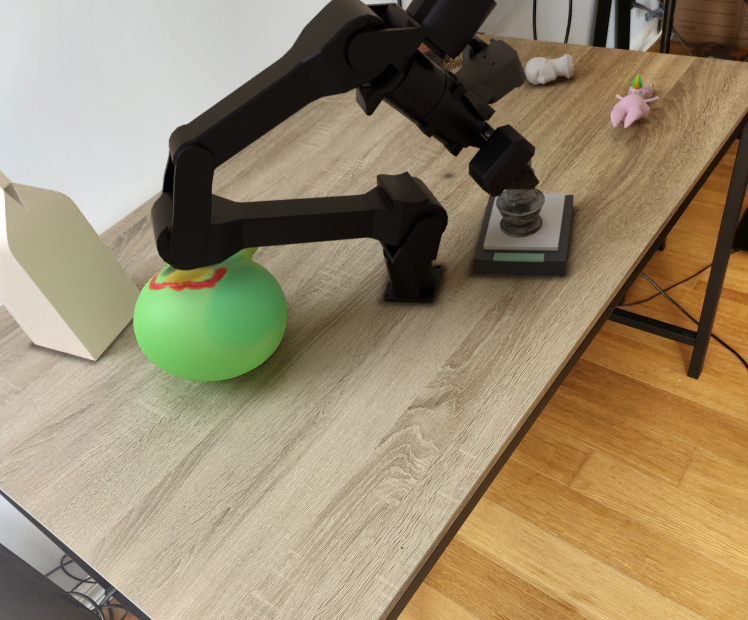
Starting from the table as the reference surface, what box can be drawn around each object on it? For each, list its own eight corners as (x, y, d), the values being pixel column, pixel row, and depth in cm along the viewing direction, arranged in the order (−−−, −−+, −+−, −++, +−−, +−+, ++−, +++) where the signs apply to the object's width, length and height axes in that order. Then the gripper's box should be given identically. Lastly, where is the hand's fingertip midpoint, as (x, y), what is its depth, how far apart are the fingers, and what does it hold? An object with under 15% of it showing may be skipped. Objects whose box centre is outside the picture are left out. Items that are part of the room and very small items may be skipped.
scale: (564, 276, 79) (565, 257, 77) (474, 274, 82) (472, 255, 80) (573, 209, 86) (573, 190, 84) (490, 209, 90) (489, 191, 88)
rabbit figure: (621, 100, 103) (596, 137, 94) (626, 60, 99) (600, 95, 90) (663, 102, 100) (641, 141, 91) (670, 61, 96) (648, 97, 87)
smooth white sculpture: (523, 93, 110) (529, 70, 111) (571, 92, 107) (577, 68, 108) (519, 73, 106) (526, 49, 108) (569, 72, 103) (576, 47, 104)
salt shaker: (524, 203, 84) (521, 118, 75) (554, 223, 81) (556, 136, 72) (488, 224, 83) (481, 139, 74) (517, 245, 80) (514, 159, 71)
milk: (147, 301, 92) (40, 135, 73) (95, 361, 86) (-36, 197, 67) (87, 288, 97) (-28, 130, 78) (34, 344, 91) (-105, 187, 72)
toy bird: (144, 407, 78) (80, 314, 68) (194, 315, 89) (146, 224, 79) (282, 404, 73) (236, 304, 63) (317, 307, 84) (282, 210, 74)
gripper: (524, 57, 56) (613, 144, 66) (440, -6, 69) (526, 75, 78) (442, 162, 61) (537, 229, 71) (377, 85, 73) (466, 151, 83)
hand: (516, 166), depth 76 cm, fingers open, 9 cm apart
